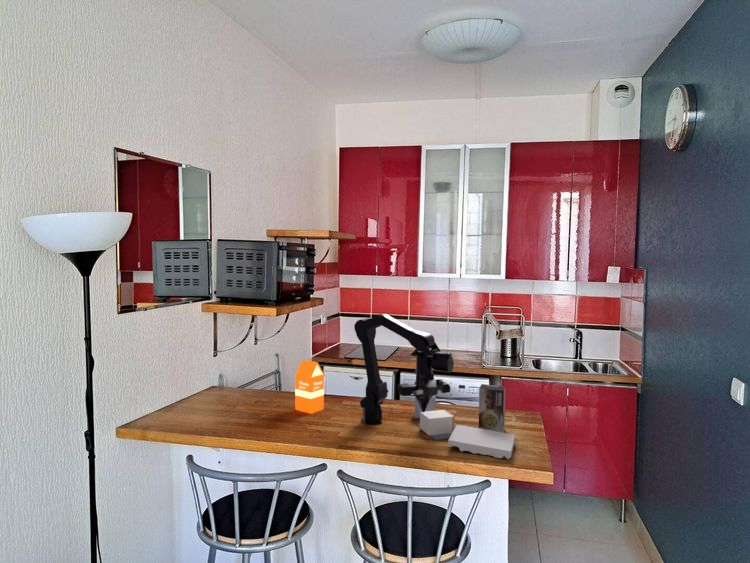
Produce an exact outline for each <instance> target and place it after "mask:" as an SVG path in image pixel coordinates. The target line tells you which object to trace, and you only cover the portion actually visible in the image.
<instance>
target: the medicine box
mask: <svg viewBox="0 0 750 563" xmlns="http://www.w3.org/2000/svg"><path fill="white" fill-rule="evenodd" d="M425 411H436V395H435V396H432V397H431V398H430V400H429V402H428V405H427V407H426V410H425ZM420 412H422V411H421V408H420V406H419V403H418V400H417V398H416V396H415V395H414V418H415V419H420Z"/></svg>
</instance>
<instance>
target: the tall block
mask: <svg viewBox="0 0 750 563" xmlns="http://www.w3.org/2000/svg"><path fill="white" fill-rule="evenodd" d="M455 417H456V416H455V415H453V414H452V413H450V412H449V411H448V410H446V409H440V410H439V409H437V410H436V409H435V411H425V412H420V418H419V424H420V427H419V429H420V430H422V432H424V433H425V434H426V435H428V436H430V435H438V434H447V433H453V431H454V426H455V424H456V423H455V422H456V420H455Z"/></svg>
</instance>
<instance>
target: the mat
mask: <svg viewBox="0 0 750 563" xmlns="http://www.w3.org/2000/svg"><path fill="white" fill-rule="evenodd" d="M457 425H458V424H456V423H455V426H454V429H455V427H456V426H457ZM416 426H418V427H419V428H420V423H417V425H416ZM451 434H452V433H447V434H438V435H429V436H430V437H431V438H432V439H433V440H435V441H440V440H449V438H450V436H451Z"/></svg>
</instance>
